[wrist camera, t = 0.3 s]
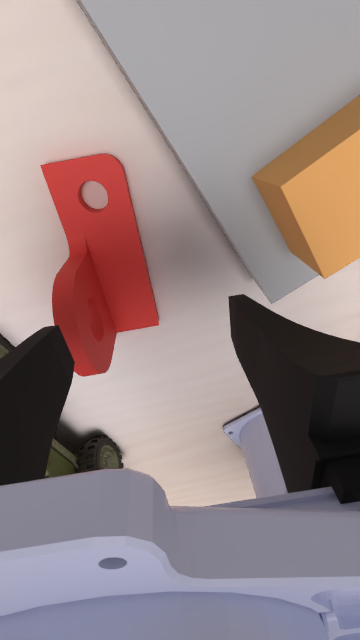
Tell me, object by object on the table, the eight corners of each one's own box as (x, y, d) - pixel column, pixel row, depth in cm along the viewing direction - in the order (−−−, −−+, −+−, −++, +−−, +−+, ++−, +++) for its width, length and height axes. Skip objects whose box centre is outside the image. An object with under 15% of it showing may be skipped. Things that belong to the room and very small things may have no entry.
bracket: (158, 317, 24) (160, 387, 17) (104, 327, 24) (85, 400, 17) (120, 150, 17) (99, 155, 11) (46, 163, 17) (-21, 177, 11)
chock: (409, 174, 15) (481, 183, 12) (290, 252, 17) (324, 278, 14) (385, 74, 13) (467, 51, 10) (251, 176, 15) (280, 186, 11)
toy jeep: (-26, 304, 22) (-158, 425, 13) (141, 466, 34) (137, 586, 25) (-138, 366, 24) (-324, 509, 15) (58, 497, 36) (26, 619, 27)
